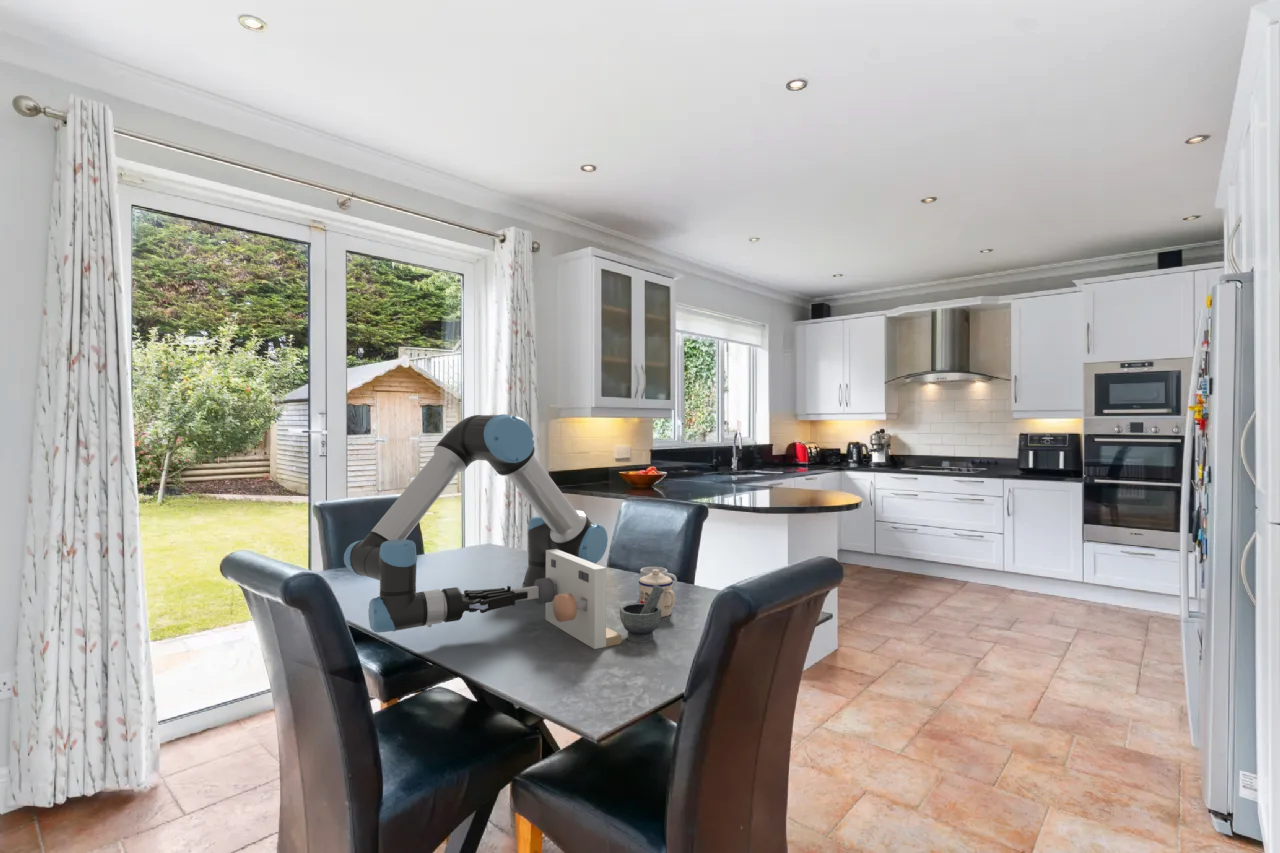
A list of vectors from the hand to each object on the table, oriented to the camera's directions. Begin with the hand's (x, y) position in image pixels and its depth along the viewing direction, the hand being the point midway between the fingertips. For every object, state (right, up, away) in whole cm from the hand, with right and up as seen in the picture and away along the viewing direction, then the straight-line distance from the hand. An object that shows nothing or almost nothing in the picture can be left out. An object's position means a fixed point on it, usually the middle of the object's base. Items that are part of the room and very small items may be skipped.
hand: (537, 591), depth 163 cm
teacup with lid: (+31, -9, +12) cm, 34 cm away
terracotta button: (+11, -3, -12) cm, 17 cm away
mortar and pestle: (+26, -9, -7) cm, 29 cm away
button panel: (+11, -9, -2) cm, 14 cm away
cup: (+31, -9, +29) cm, 43 cm away
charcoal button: (+4, -3, +3) cm, 6 cm away
